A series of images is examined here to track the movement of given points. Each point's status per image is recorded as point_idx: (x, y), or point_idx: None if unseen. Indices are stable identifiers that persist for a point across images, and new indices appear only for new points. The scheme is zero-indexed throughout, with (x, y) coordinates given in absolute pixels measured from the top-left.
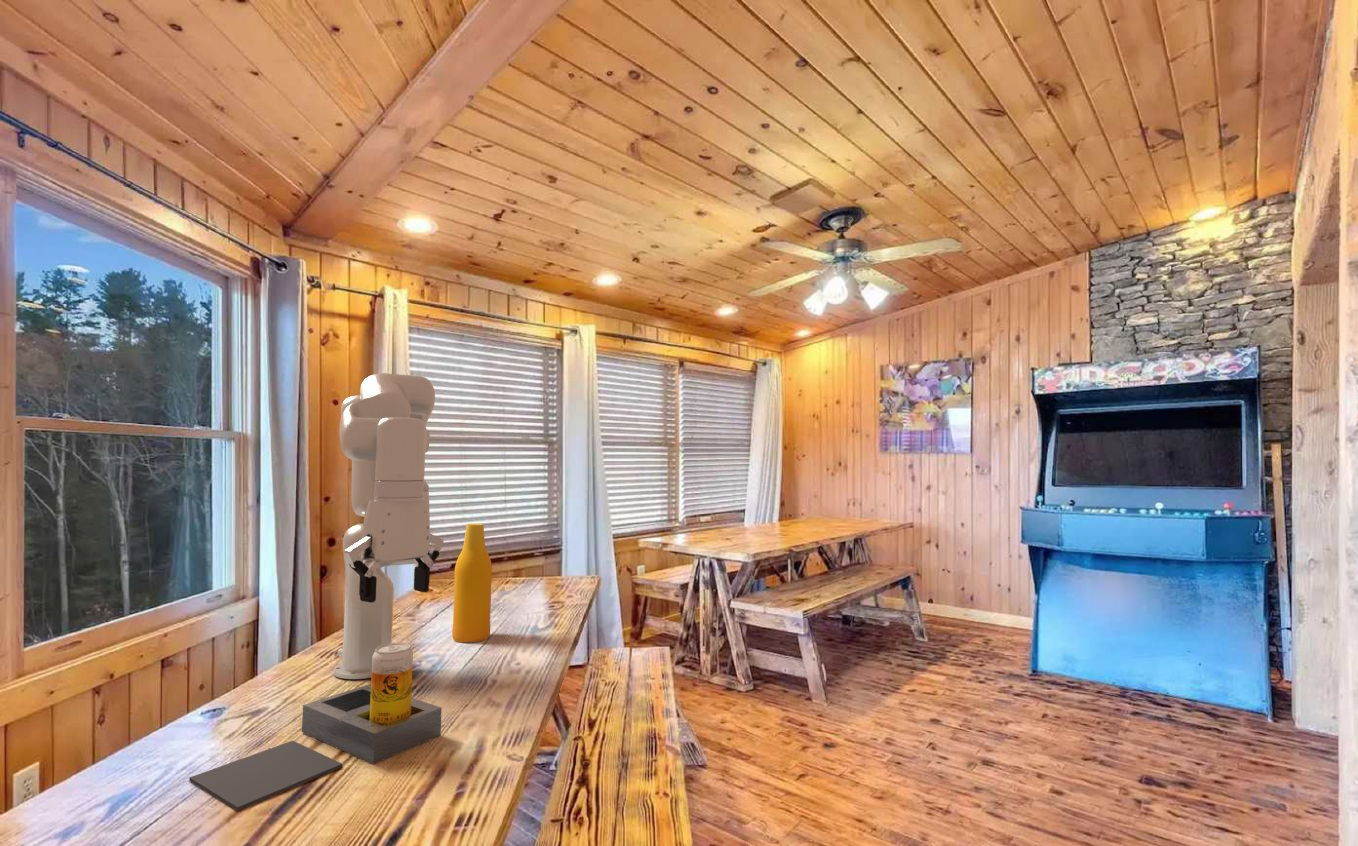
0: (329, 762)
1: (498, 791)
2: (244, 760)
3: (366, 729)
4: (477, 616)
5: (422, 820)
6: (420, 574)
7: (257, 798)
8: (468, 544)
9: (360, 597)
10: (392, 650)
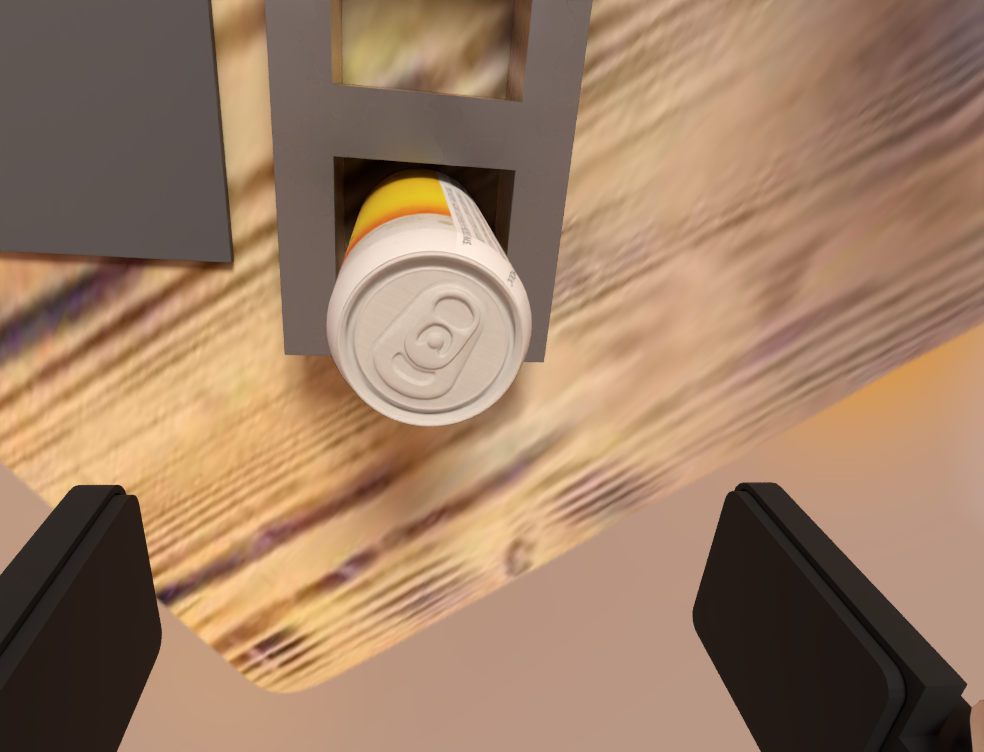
0: (209, 219)
1: (387, 623)
2: None
3: (287, 304)
4: None
5: (225, 597)
6: (799, 706)
7: None
8: None
9: (67, 501)
10: (410, 365)
